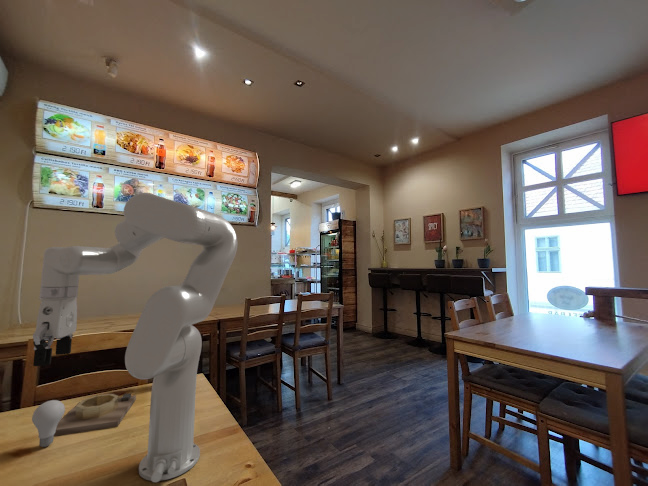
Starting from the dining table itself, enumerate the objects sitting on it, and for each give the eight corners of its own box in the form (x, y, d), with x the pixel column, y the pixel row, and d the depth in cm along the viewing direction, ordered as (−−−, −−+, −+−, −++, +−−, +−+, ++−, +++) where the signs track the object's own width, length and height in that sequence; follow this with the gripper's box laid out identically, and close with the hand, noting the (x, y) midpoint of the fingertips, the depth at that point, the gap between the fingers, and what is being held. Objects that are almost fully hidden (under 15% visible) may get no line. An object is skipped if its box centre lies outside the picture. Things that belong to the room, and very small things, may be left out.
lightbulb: (41, 455, 70) (45, 407, 71) (22, 452, 71) (26, 405, 72) (68, 440, 76) (72, 397, 77) (50, 438, 77) (53, 395, 78)
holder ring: (110, 415, 86) (110, 405, 86) (70, 421, 82) (71, 410, 83) (121, 401, 95) (121, 392, 95) (85, 406, 91) (86, 396, 92)
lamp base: (117, 426, 82) (118, 416, 83) (47, 436, 77) (48, 426, 78) (135, 399, 99) (136, 391, 100) (79, 406, 94) (79, 398, 94)
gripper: (59, 296, 70) (52, 369, 68) (90, 290, 86) (85, 349, 85) (19, 296, 67) (11, 372, 66) (59, 291, 84) (53, 351, 82)
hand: (53, 359), depth 75 cm, fingers open, 9 cm apart
